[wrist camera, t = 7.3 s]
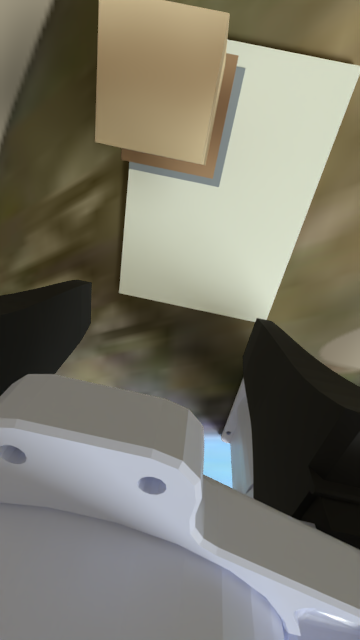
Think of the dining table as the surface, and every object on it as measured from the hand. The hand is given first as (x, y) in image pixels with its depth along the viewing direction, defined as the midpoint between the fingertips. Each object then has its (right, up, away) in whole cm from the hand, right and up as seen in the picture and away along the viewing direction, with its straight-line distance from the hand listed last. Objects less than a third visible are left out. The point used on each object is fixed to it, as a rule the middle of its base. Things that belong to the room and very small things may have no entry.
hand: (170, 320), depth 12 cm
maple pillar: (0, +10, +2) cm, 10 cm away
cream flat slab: (+3, +8, +7) cm, 11 cm away
